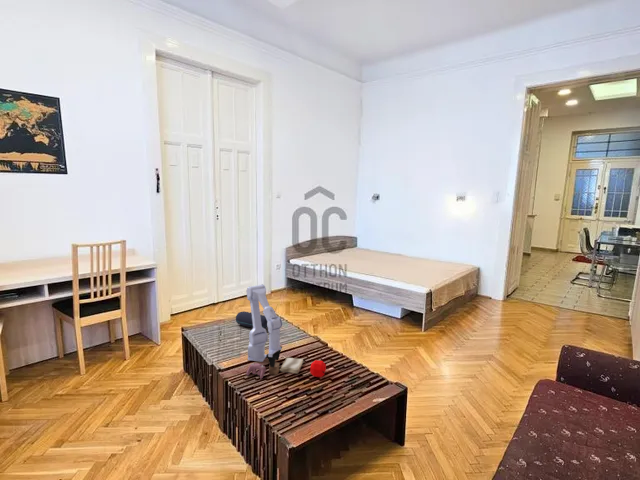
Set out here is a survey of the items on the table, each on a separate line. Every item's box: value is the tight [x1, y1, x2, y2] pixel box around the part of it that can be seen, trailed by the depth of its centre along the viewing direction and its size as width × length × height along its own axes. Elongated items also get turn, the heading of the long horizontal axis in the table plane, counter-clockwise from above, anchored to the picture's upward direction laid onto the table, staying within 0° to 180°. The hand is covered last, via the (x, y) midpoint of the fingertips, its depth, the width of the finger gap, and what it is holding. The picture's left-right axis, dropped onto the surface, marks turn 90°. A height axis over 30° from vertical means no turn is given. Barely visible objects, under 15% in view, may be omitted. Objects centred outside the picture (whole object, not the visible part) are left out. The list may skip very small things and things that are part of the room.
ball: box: [309, 359, 327, 378], centre depth 184 cm, size 8×8×8 cm
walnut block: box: [268, 361, 280, 376], centre depth 186 cm, size 4×4×5 cm
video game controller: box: [245, 362, 267, 380], centre depth 183 cm, size 10×5×7 cm, turn 71°
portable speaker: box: [235, 310, 268, 329], centre depth 244 cm, size 25×10×10 cm, turn 66°
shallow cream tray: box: [280, 357, 304, 374], centre depth 193 cm, size 10×12×2 cm
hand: (274, 363), depth 185 cm, fingers open, 7 cm apart
